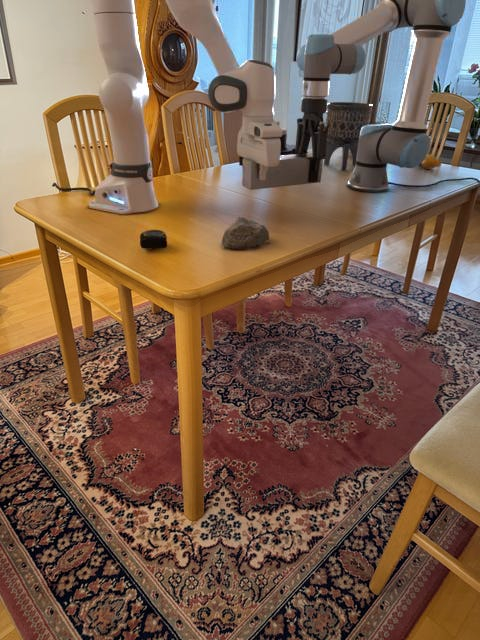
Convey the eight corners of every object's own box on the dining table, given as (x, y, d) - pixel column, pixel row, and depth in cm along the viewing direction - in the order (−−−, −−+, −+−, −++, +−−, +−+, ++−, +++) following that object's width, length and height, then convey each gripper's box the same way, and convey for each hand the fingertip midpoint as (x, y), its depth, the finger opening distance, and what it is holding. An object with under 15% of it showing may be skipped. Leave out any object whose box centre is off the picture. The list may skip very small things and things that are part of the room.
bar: (310, 178, 146) (313, 152, 142) (320, 182, 141) (323, 156, 137) (242, 185, 136) (242, 158, 132) (250, 189, 132) (251, 161, 128)
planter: (313, 167, 208) (319, 103, 195) (331, 160, 222) (338, 101, 209) (353, 173, 199) (362, 107, 185) (369, 166, 213) (379, 104, 199)
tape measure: (140, 252, 115) (139, 238, 113) (141, 242, 120) (140, 229, 119) (167, 251, 116) (166, 237, 114) (167, 241, 121) (166, 228, 120)
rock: (255, 233, 128) (256, 211, 124) (276, 242, 122) (278, 219, 119) (217, 244, 120) (217, 220, 117) (239, 254, 115) (239, 230, 111)
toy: (415, 162, 205) (409, 155, 218) (417, 175, 208) (411, 168, 221) (441, 154, 202) (433, 147, 215) (443, 168, 205) (435, 160, 218)
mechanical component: (240, 120, 182) (283, 115, 202) (239, 174, 192) (280, 164, 212) (283, 126, 170) (325, 120, 190) (280, 183, 180) (320, 171, 200)
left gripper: (232, 122, 134) (231, 170, 141) (265, 132, 118) (262, 185, 125) (251, 121, 136) (249, 169, 143) (285, 131, 120) (282, 183, 127)
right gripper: (286, 95, 136) (282, 174, 148) (322, 100, 122) (314, 187, 133) (307, 94, 139) (301, 172, 151) (345, 100, 125) (335, 185, 136)
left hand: (256, 177), depth 134 cm, fingers closed on bar, 5 cm apart
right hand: (307, 179), depth 142 cm, fingers closed on bar, 6 cm apart
